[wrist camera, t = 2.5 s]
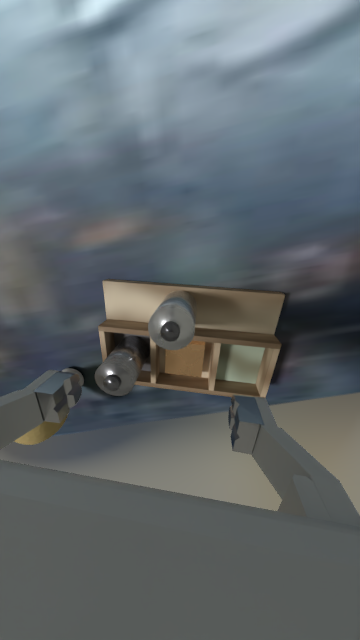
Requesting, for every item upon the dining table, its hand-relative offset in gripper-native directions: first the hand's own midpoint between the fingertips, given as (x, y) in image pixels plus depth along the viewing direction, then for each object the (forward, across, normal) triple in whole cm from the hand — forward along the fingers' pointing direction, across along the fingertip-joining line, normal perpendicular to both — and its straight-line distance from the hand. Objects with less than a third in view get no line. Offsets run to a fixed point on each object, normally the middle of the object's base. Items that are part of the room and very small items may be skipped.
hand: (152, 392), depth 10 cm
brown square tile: (+12, -1, +5) cm, 14 cm away
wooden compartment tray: (+14, -1, +3) cm, 14 cm away
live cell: (+13, 0, -1) cm, 13 cm away
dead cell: (+13, +6, +5) cm, 15 cm away
